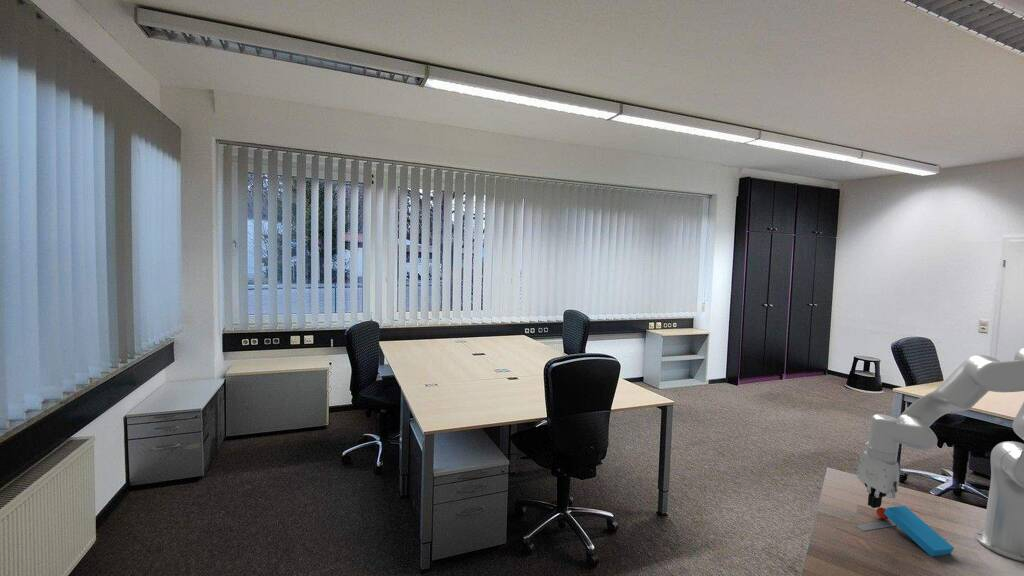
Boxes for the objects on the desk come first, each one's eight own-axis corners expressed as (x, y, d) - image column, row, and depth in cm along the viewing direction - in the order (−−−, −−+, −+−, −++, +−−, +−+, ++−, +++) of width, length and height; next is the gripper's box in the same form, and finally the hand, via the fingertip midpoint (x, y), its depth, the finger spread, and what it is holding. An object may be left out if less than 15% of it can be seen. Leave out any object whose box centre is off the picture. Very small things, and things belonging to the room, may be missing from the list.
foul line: (912, 516, 141) (912, 516, 141) (921, 521, 138) (921, 521, 138) (855, 525, 136) (855, 525, 136) (863, 531, 133) (863, 530, 133)
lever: (943, 564, 126) (885, 511, 142) (954, 548, 123) (893, 496, 139) (924, 567, 124) (867, 513, 141) (934, 550, 122) (875, 498, 138)
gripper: (849, 443, 146) (842, 493, 148) (897, 466, 131) (888, 522, 133) (867, 441, 147) (860, 491, 150) (916, 464, 133) (907, 519, 135)
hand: (873, 506), depth 142 cm, fingers closed
